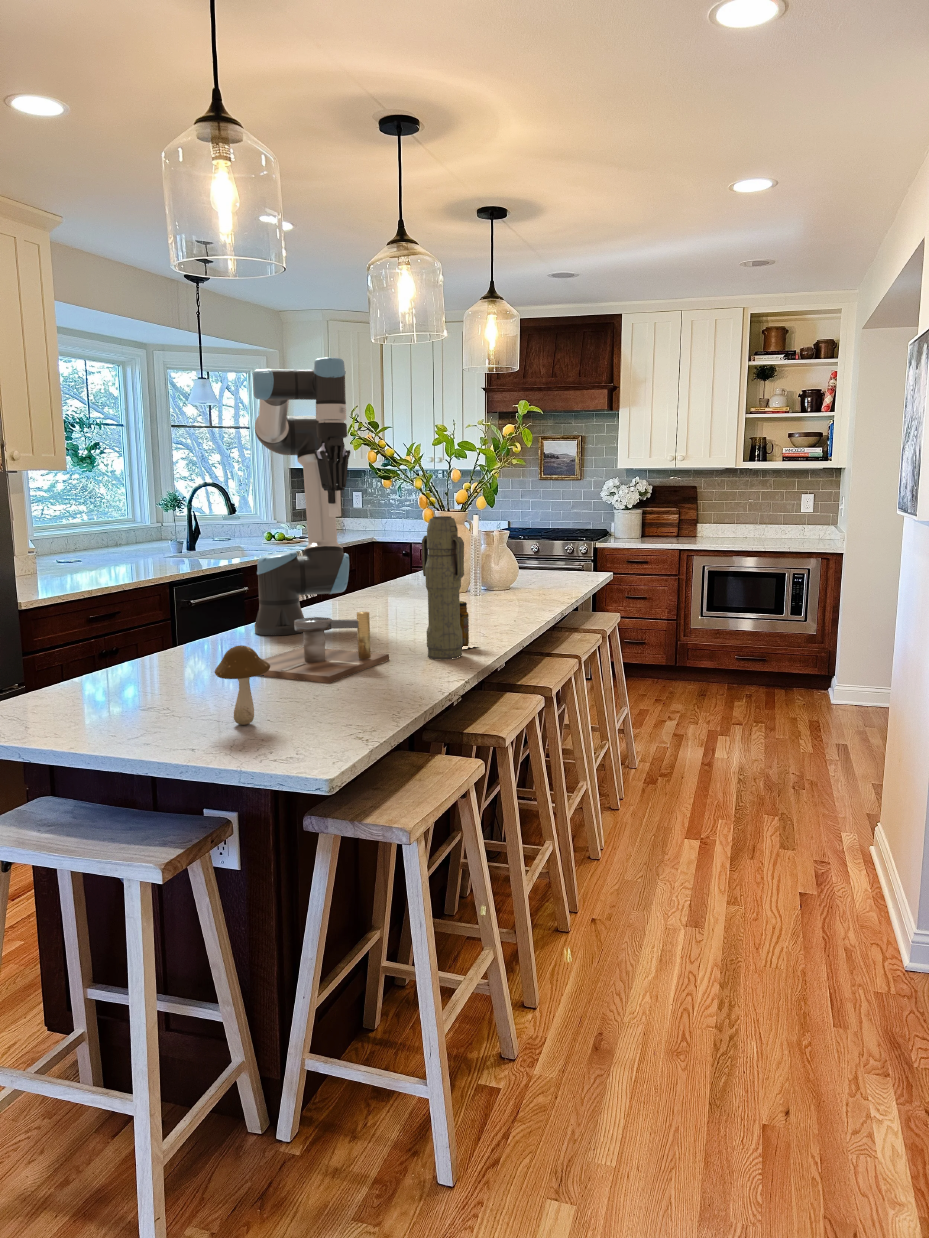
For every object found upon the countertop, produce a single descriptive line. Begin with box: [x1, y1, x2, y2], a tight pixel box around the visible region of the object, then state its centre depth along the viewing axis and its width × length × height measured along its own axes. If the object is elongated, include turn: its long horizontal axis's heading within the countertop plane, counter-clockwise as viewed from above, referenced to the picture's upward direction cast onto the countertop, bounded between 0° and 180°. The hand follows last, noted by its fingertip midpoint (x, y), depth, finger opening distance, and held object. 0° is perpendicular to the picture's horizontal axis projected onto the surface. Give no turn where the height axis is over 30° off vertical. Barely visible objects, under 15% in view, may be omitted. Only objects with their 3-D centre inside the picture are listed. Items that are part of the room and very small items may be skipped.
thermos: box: [421, 515, 465, 660], centre depth 220 cm, size 9×12×35 cm
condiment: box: [460, 600, 470, 647], centre depth 234 cm, size 7×8×12 cm
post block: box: [261, 631, 390, 684], centre depth 213 cm, size 26×26×9 cm
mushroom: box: [214, 645, 270, 726], centre depth 165 cm, size 9×11×15 cm
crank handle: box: [294, 611, 372, 659], centre depth 213 cm, size 10×18×11 cm, turn 90°
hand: (335, 516), depth 226 cm, fingers closed
